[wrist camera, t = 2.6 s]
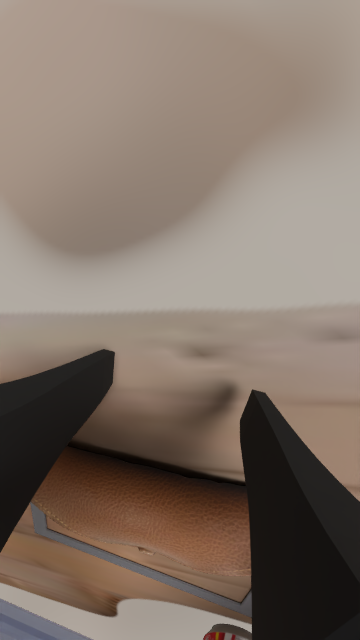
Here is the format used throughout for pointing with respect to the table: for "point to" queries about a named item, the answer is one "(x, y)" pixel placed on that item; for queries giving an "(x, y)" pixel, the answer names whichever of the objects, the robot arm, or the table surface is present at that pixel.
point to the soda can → (227, 633)
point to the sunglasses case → (150, 511)
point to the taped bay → (139, 567)
